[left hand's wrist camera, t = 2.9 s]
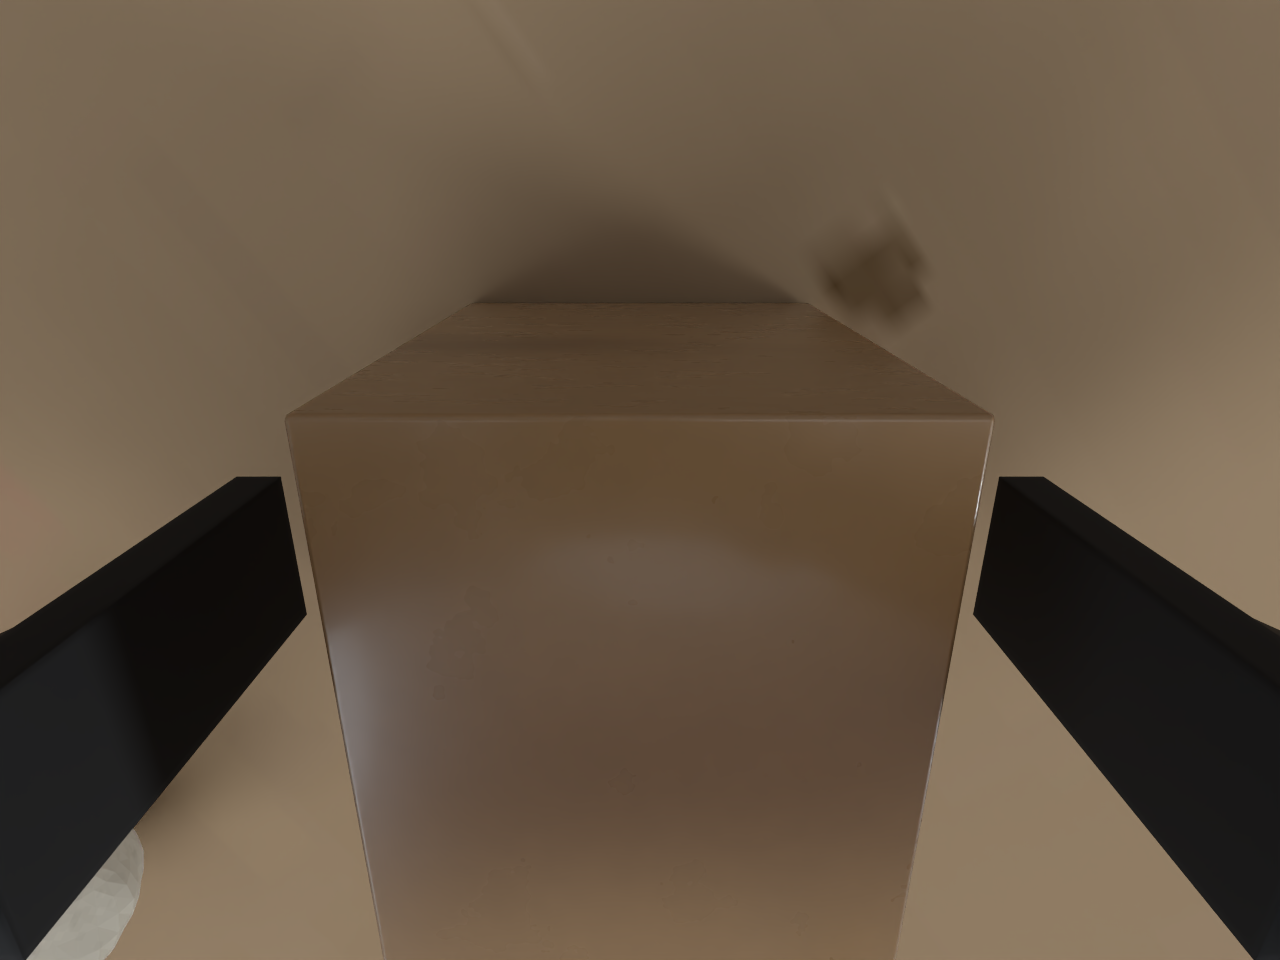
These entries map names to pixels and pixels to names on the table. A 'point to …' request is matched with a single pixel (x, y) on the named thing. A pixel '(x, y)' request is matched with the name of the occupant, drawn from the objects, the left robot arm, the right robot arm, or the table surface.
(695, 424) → the brown cube
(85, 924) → the dog toy
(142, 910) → the table surface
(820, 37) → the table surface
